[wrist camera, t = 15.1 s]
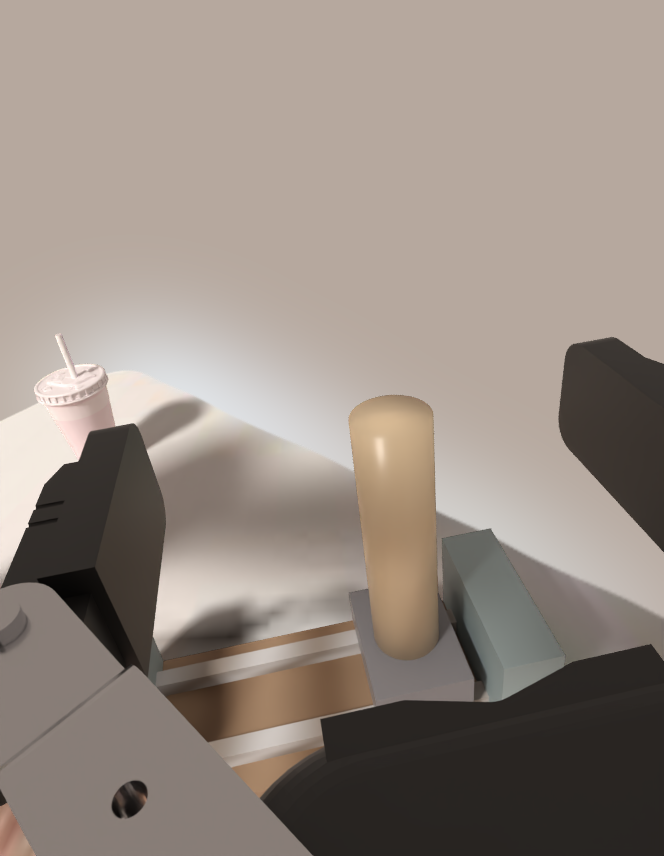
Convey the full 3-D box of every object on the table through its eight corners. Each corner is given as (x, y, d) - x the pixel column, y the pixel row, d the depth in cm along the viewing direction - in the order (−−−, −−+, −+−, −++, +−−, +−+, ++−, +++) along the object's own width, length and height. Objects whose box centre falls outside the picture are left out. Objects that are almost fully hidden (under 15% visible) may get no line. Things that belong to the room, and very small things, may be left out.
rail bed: (97, 845, 29) (80, 821, 28) (122, 686, 37) (109, 661, 36) (552, 737, 31) (556, 710, 30) (487, 607, 39) (488, 580, 37)
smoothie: (126, 479, 56) (74, 346, 48) (61, 487, 56) (-1, 355, 49) (142, 442, 61) (98, 317, 54) (83, 449, 62) (31, 325, 54)
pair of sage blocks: (97, 845, 29) (44, 773, 26) (123, 680, 37) (85, 606, 33) (552, 737, 31) (565, 655, 27) (484, 602, 39) (487, 524, 35)
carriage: (379, 728, 30) (347, 477, 21) (352, 619, 36) (319, 388, 27) (473, 707, 30) (479, 451, 21) (432, 602, 36) (424, 369, 27)
